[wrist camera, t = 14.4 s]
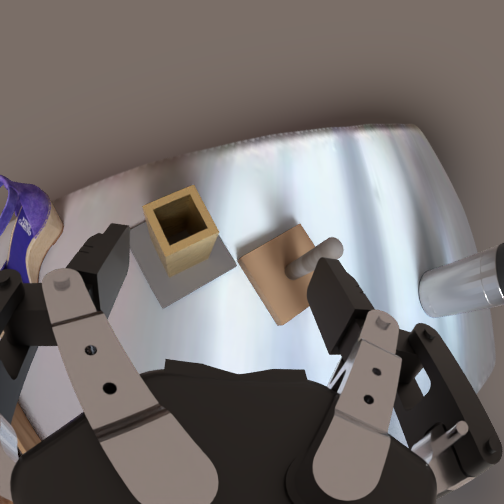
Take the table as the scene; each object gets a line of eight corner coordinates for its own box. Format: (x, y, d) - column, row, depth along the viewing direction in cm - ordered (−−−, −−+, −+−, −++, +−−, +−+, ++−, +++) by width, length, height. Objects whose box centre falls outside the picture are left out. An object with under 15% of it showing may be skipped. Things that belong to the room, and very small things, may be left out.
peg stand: (294, 228, 41) (338, 187, 29) (331, 286, 40) (388, 265, 28) (237, 261, 38) (265, 226, 26) (277, 325, 37) (324, 320, 25)
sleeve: (189, 221, 37) (193, 184, 28) (208, 258, 36) (219, 232, 27) (150, 239, 35) (142, 206, 26) (169, 277, 34) (165, 257, 25)
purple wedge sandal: (-15, 312, 26) (-81, 296, 12) (54, 206, 33) (9, 147, 19) (15, 351, 26) (-52, 352, 12) (88, 237, 33) (46, 183, 19)
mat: (195, 198, 39) (195, 197, 38) (236, 266, 37) (236, 265, 37) (123, 234, 35) (123, 233, 34) (162, 308, 33) (162, 308, 33)
